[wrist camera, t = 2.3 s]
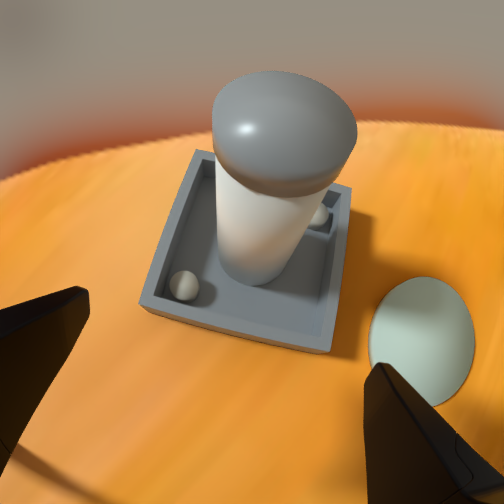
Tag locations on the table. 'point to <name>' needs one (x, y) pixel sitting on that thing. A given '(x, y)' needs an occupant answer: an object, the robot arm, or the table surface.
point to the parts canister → (273, 167)
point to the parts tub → (239, 295)
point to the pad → (424, 337)
